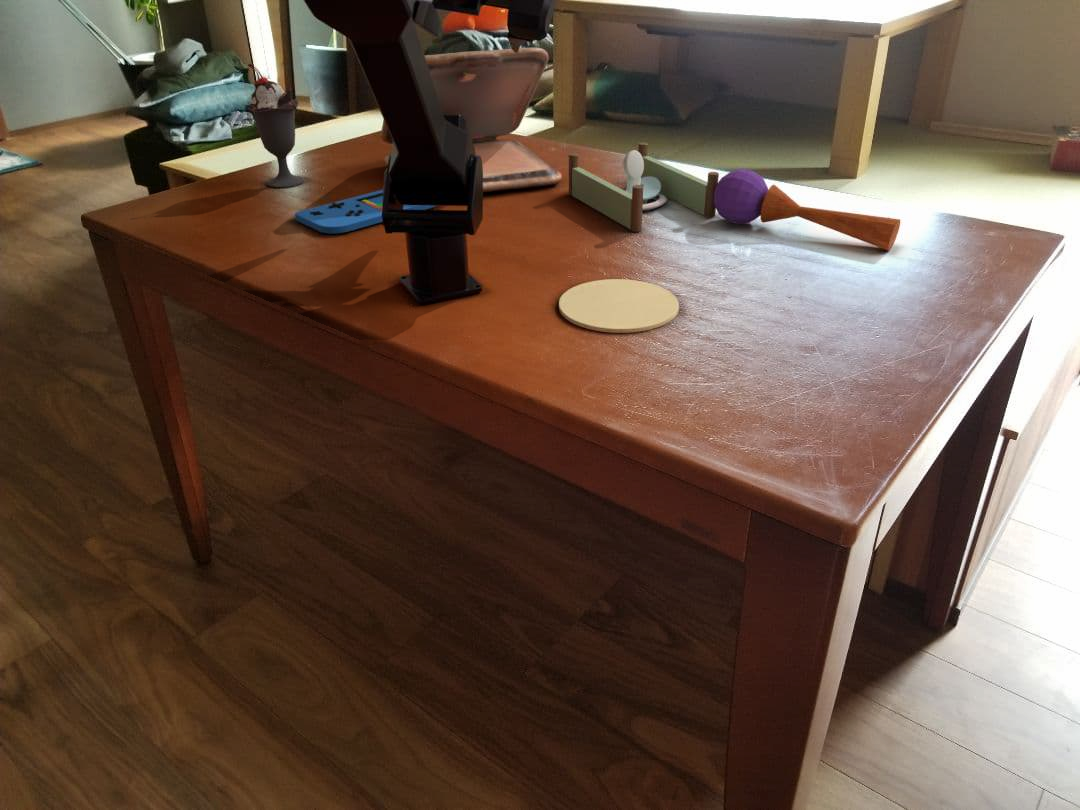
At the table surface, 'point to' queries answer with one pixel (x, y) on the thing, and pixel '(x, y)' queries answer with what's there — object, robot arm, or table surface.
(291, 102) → the sundae
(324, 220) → the handheld gaming device
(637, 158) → the pacifier
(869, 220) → the kendama
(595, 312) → the coaster
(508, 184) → the case
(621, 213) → the rack
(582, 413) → the table surface
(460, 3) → the robot arm
